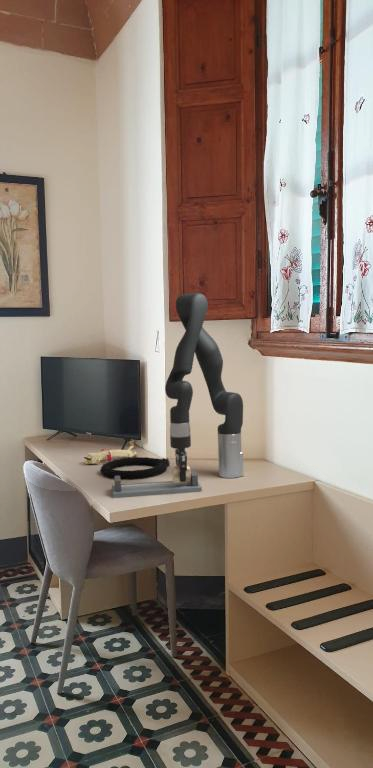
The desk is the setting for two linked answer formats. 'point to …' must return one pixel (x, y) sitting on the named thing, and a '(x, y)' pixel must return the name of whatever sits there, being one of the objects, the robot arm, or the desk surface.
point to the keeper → (177, 474)
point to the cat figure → (109, 455)
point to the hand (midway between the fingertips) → (181, 479)
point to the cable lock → (158, 464)
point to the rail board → (155, 487)
